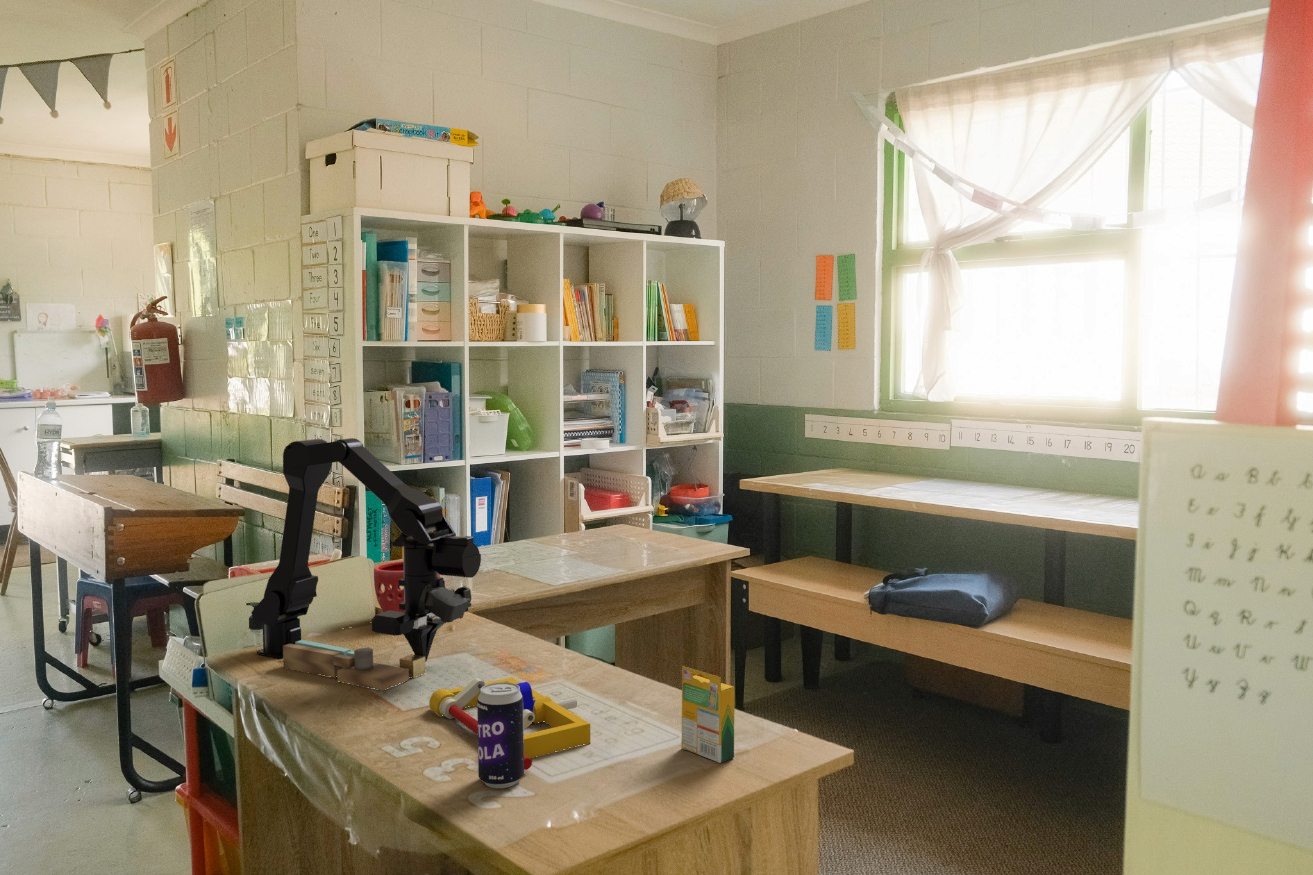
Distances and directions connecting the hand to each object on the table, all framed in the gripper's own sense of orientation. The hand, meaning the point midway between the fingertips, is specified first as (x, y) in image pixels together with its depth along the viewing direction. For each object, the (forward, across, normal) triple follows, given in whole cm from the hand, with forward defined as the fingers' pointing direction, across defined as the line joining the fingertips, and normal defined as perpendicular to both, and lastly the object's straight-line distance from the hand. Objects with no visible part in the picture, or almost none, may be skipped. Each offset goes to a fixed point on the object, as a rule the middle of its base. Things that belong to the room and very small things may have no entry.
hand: (422, 662), depth 168 cm
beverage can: (+2, -31, -39) cm, 50 cm away
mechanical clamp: (+2, -14, -31) cm, 34 cm away
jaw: (+2, -7, +15) cm, 16 cm away
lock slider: (+1, -3, 0) cm, 3 cm away
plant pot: (+2, +24, +24) cm, 34 cm away
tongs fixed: (+2, -8, +10) cm, 13 cm away
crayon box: (+2, -10, -58) cm, 59 cm away
